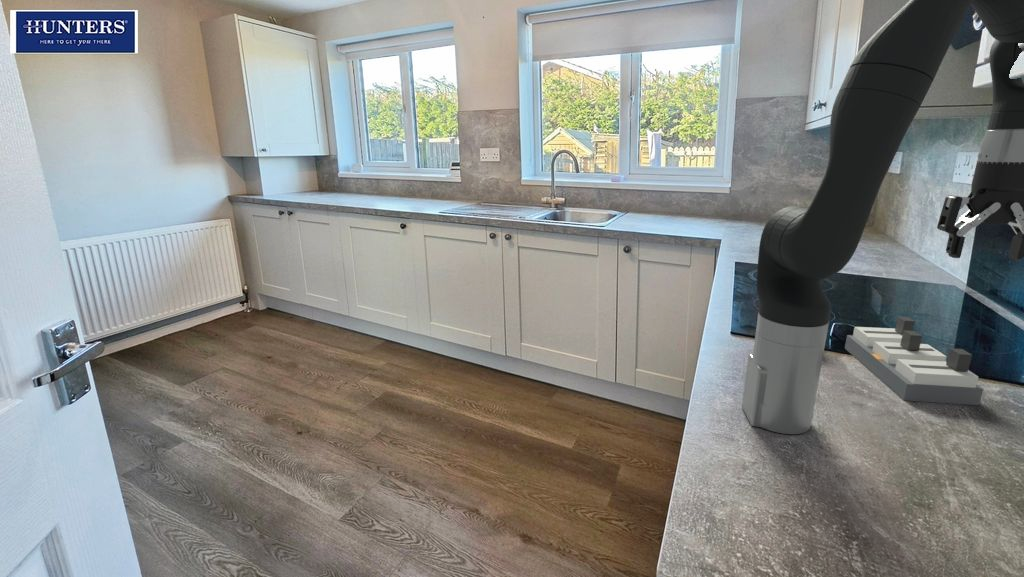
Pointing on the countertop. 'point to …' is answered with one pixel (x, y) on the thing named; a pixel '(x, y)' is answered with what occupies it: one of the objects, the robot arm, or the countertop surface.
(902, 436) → the countertop surface
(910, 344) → the block
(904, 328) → the block
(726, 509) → the countertop surface
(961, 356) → the block
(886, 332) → the box
